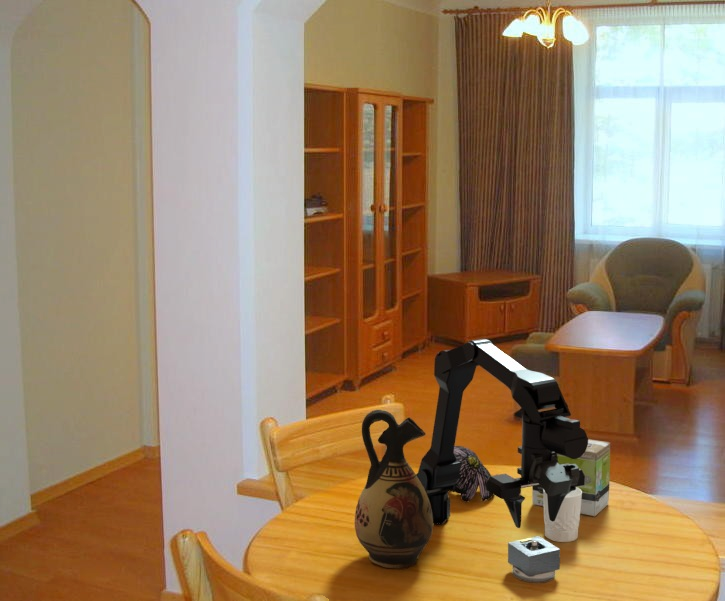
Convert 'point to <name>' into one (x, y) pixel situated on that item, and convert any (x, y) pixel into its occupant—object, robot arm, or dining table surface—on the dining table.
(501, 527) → the dining table surface
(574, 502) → the white cup
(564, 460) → the tea box
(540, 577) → the hub
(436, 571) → the dining table surface
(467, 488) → the decorative flower
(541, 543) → the grey knob housing box
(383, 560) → the ceramic jug
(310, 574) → the dining table surface
